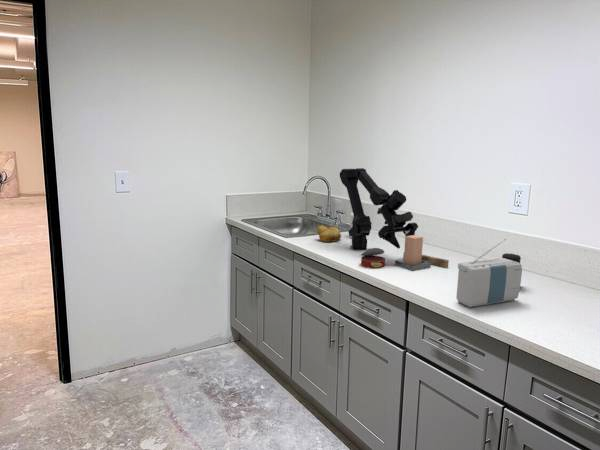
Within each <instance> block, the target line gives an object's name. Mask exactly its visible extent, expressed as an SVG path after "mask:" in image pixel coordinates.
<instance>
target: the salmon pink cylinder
mask: <svg viewBox="0 0 600 450" xmlns="http://www.w3.org/2000/svg"><path fill="white" fill-rule="evenodd" d="M404 237H405V238H404V251H403V255H404V259H403V262H405V263H408V264H411V265H415V264H421V260H422V255H423V245H424V244H423V242H424V237H423V236H419V235H416V234H415V235H411V236H405V235H404Z"/></svg>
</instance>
